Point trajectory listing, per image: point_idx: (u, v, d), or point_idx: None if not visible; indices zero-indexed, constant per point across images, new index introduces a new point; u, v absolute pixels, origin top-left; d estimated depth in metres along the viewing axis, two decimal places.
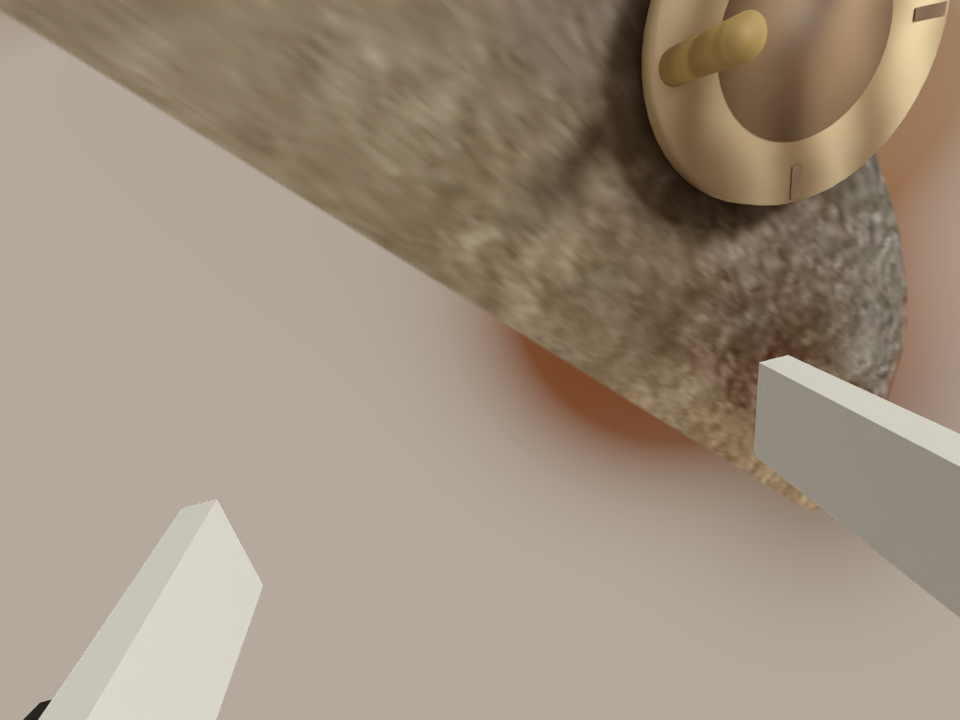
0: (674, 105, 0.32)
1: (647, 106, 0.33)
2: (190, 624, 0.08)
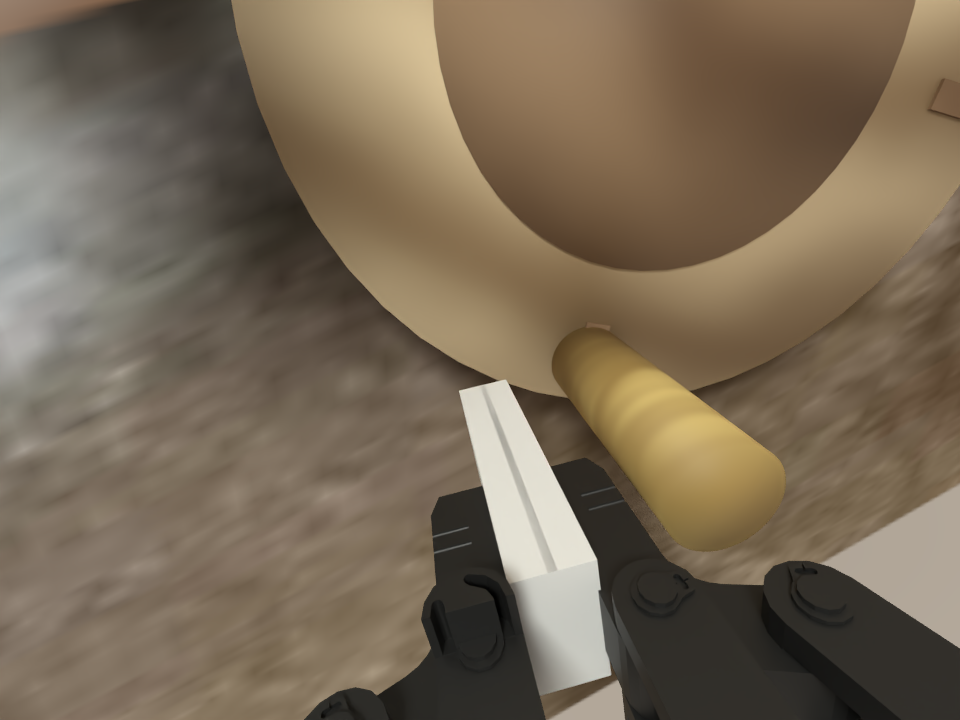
0: None
1: None
2: None
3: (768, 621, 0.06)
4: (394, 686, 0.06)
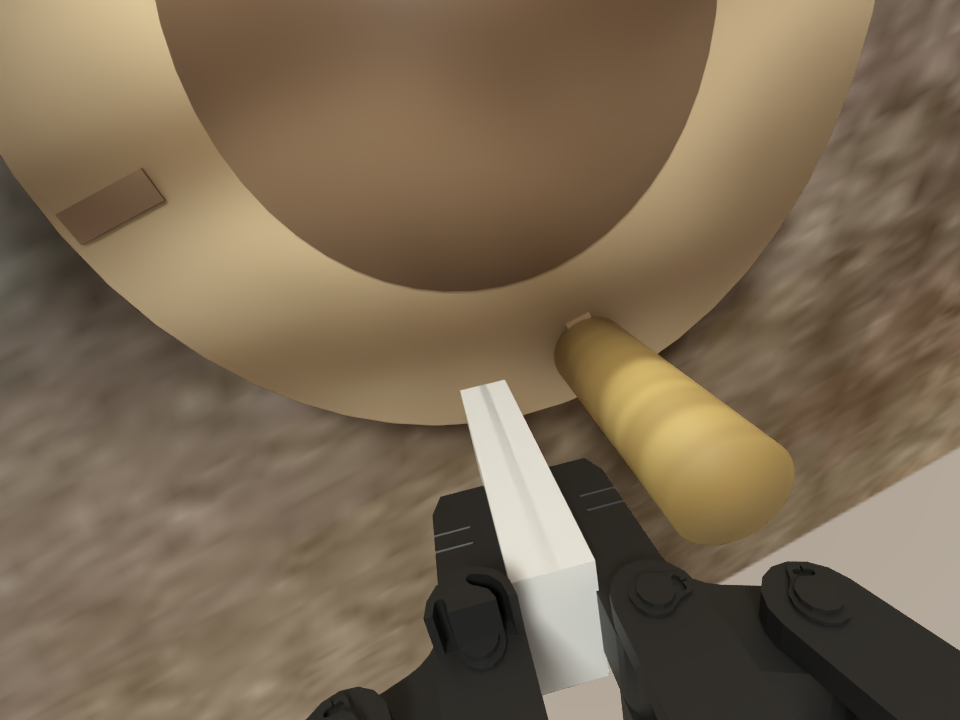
0: (657, 322, 0.14)
1: None
2: None
3: (765, 622, 0.06)
4: (397, 684, 0.06)
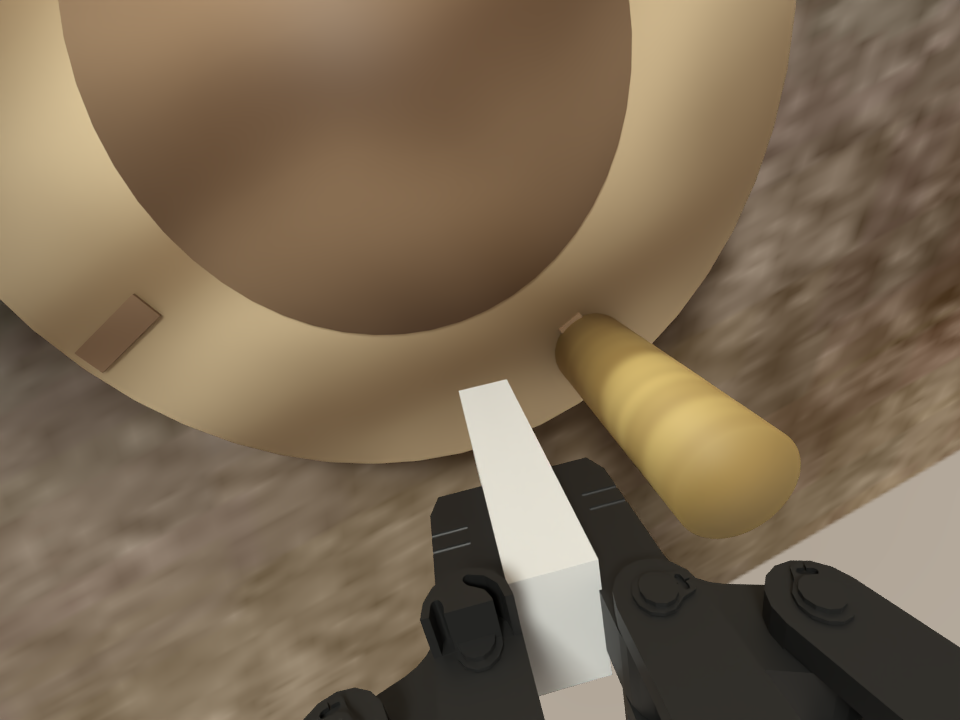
0: (652, 304, 0.14)
1: None
2: None
3: (769, 620, 0.06)
4: (393, 686, 0.06)
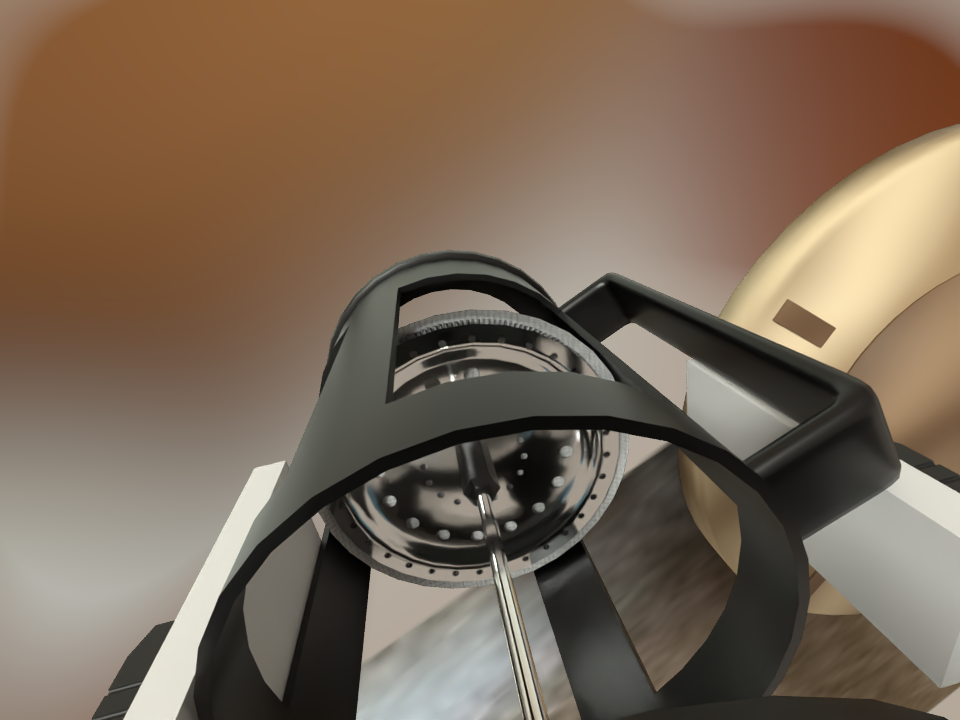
0: None
1: None
2: (275, 565, 0.09)
3: None
4: None
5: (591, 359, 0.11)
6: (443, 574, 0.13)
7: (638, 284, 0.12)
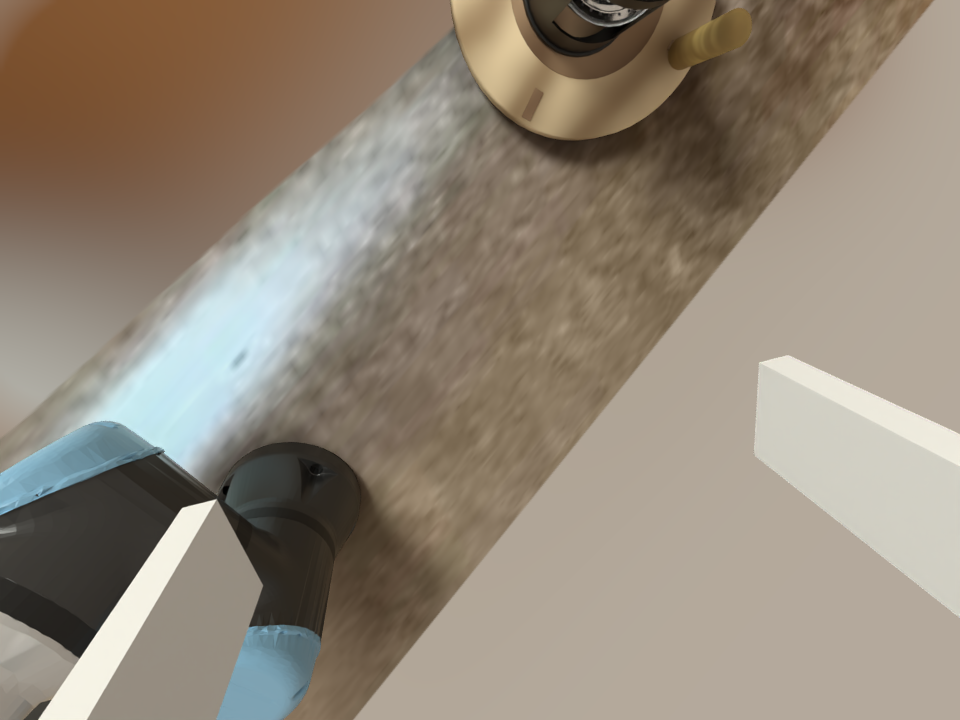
0: (698, 25, 0.38)
1: None
2: (190, 624, 0.08)
3: None
4: None
5: None
6: (595, 13, 0.31)
7: None
